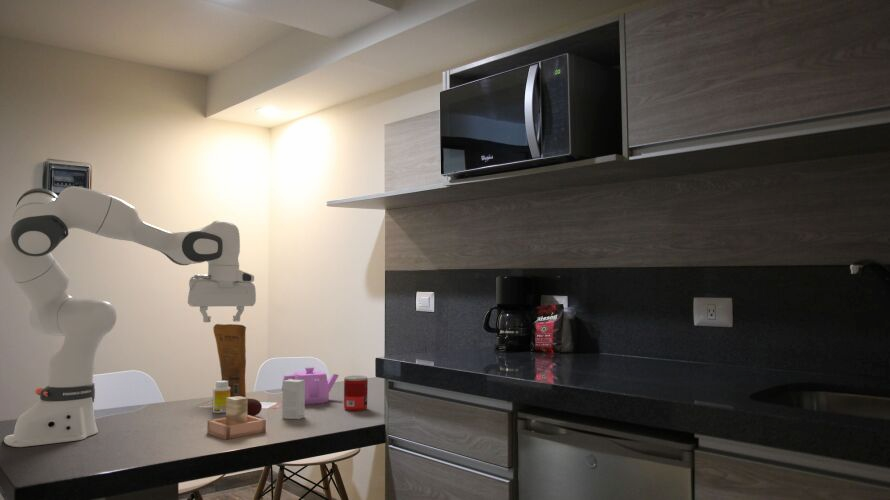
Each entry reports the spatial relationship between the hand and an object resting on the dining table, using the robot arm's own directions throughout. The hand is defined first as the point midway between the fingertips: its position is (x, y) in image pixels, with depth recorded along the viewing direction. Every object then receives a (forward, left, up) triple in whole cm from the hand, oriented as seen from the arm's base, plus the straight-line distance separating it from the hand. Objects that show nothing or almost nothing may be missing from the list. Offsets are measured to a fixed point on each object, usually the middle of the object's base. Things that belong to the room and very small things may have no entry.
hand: (221, 321), depth 193 cm
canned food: (+48, -4, -32) cm, 58 cm away
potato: (+15, +10, -32) cm, 37 cm away
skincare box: (+25, -1, -32) cm, 41 cm away
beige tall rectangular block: (+2, -7, -31) cm, 32 cm away
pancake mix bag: (+27, +44, -32) cm, 61 cm away
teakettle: (+46, +20, -32) cm, 60 cm away
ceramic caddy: (+2, -7, -32) cm, 33 cm away
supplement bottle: (+13, +24, -32) cm, 42 cm away
